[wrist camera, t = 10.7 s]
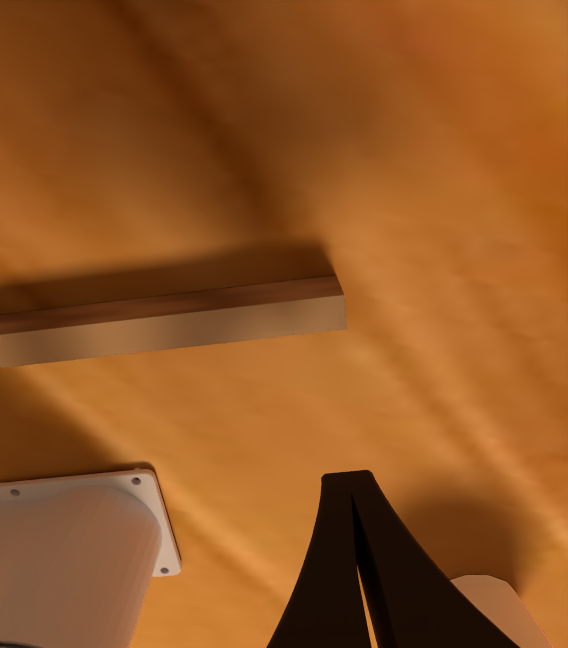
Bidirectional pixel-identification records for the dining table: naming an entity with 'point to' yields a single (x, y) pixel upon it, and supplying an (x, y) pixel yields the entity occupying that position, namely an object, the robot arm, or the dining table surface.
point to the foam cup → (503, 609)
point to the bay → (173, 321)
